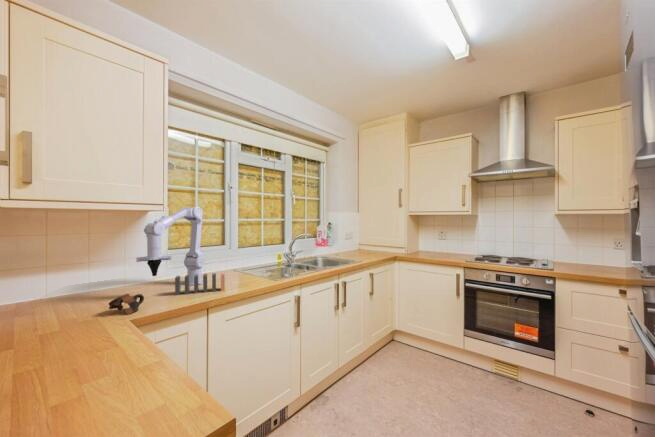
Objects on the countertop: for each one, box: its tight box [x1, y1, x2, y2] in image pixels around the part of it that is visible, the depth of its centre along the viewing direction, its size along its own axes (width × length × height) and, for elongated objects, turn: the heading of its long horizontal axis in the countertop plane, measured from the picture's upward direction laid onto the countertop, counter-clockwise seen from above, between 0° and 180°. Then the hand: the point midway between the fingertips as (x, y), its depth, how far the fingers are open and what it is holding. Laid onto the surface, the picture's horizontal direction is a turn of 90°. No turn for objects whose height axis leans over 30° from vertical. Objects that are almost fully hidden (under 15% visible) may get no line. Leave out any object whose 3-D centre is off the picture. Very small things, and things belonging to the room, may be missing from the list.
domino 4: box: [202, 273, 208, 294], centre depth 144 cm, size 5×2×8 cm, turn 21°
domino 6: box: [220, 272, 226, 292], centre depth 147 cm, size 5×2×8 cm, turn 21°
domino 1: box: [174, 275, 181, 296], centre depth 140 cm, size 5×2×8 cm, turn 21°
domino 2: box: [184, 274, 191, 295], centre depth 141 cm, size 5×2×8 cm, turn 21°
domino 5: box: [211, 272, 217, 293], centre depth 146 cm, size 5×2×8 cm, turn 21°
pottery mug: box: [108, 293, 145, 316], centre depth 115 cm, size 12×10×8 cm
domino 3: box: [193, 274, 200, 294], centre depth 143 cm, size 5×2×8 cm, turn 21°
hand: (154, 275), depth 136 cm, fingers closed
